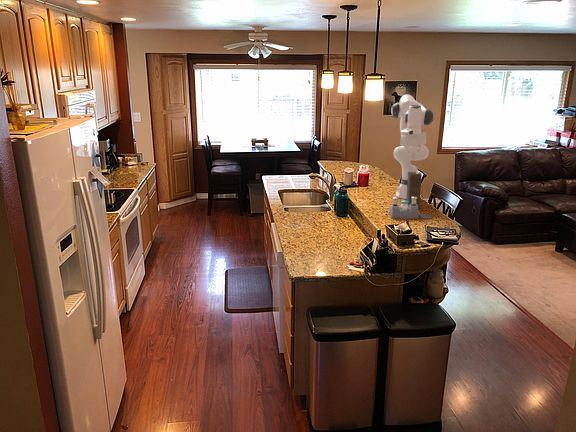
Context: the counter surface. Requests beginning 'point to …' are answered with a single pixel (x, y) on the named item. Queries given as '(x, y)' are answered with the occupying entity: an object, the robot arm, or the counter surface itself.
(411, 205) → the plunger
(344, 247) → the counter surface
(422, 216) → the mat
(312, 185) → the counter surface
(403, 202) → the cartridge
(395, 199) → the plunger
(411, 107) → the robot arm
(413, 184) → the grey upright box
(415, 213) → the housing
